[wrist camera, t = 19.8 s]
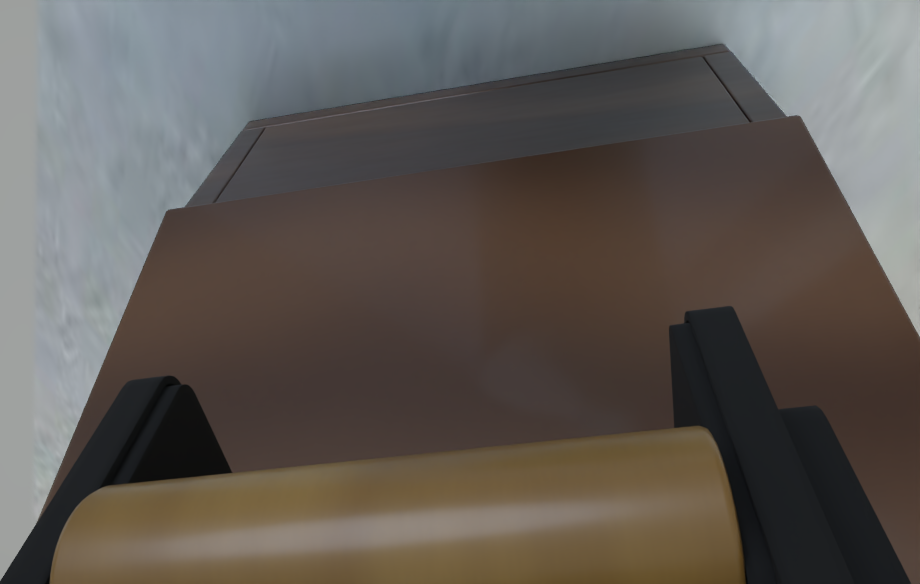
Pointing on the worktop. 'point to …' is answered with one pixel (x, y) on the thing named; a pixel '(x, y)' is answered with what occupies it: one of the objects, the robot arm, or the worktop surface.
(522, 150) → the chest
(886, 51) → the worktop surface
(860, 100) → the worktop surface
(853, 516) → the robot arm
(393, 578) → the lid
